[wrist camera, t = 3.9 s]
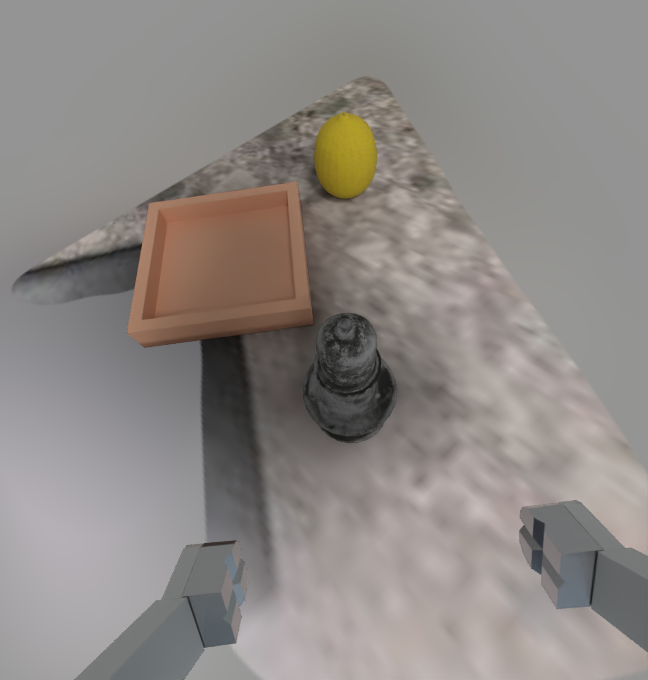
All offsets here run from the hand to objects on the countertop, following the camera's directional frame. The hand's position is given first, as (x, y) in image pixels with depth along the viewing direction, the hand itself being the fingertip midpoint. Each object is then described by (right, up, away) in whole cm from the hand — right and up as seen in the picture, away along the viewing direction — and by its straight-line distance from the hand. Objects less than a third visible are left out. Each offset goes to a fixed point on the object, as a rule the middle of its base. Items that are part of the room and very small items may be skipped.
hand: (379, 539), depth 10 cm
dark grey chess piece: (0, +1, +15) cm, 15 cm away
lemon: (+1, +20, +25) cm, 32 cm away
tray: (-10, +12, +22) cm, 27 cm away
